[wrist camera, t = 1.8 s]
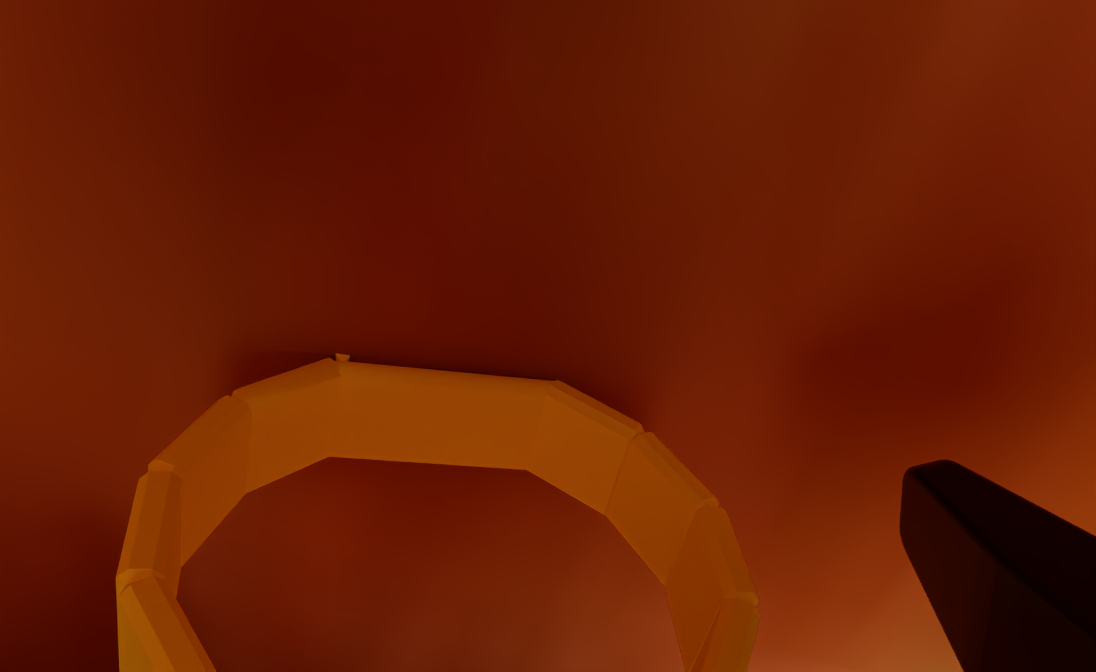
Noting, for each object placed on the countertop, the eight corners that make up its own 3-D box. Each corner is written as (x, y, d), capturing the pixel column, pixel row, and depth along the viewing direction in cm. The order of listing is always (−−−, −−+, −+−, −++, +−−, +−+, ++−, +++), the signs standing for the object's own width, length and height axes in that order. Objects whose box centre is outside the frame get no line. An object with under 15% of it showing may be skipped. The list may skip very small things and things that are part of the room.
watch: (207, 461, 11) (-9, 994, 6) (212, 275, 10) (-56, 764, 5) (644, 512, 12) (766, 1004, 7) (704, 350, 11) (906, 817, 6)
